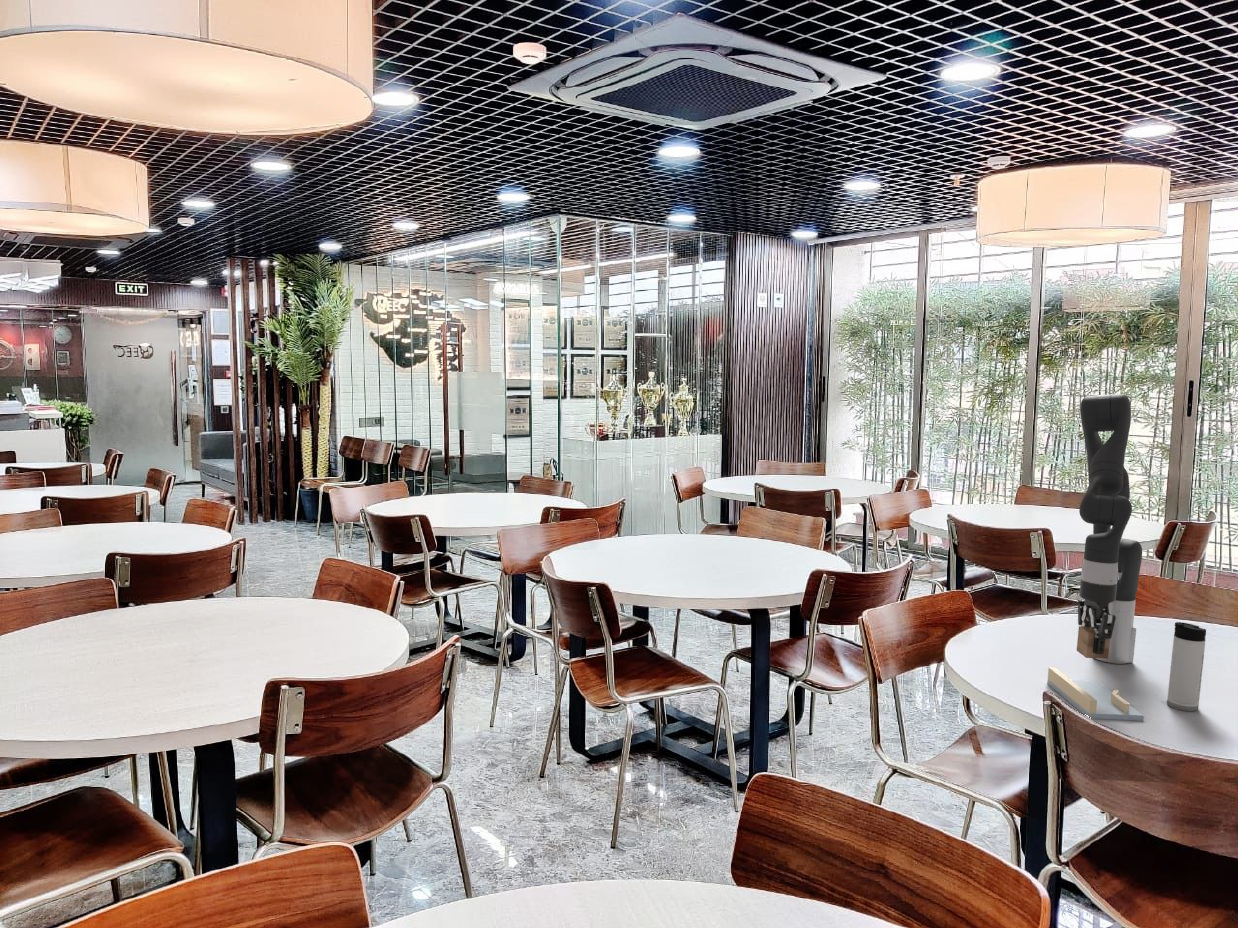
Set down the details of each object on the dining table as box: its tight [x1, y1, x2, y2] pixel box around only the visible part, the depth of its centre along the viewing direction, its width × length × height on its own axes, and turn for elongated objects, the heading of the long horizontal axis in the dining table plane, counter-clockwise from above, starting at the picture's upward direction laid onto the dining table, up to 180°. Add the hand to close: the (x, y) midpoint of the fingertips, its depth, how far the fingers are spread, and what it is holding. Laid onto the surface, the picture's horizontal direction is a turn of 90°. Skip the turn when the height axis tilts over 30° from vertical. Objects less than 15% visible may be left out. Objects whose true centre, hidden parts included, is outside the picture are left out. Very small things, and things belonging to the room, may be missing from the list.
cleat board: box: [1046, 666, 1145, 722], centre depth 213 cm, size 12×22×4 cm, turn 177°
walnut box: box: [1076, 625, 1110, 659], centre depth 212 cm, size 5×5×7 cm
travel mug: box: [1166, 621, 1207, 712], centre depth 210 cm, size 6×7×20 cm
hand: (1092, 649), depth 212 cm, fingers closed on walnut box, 5 cm apart
